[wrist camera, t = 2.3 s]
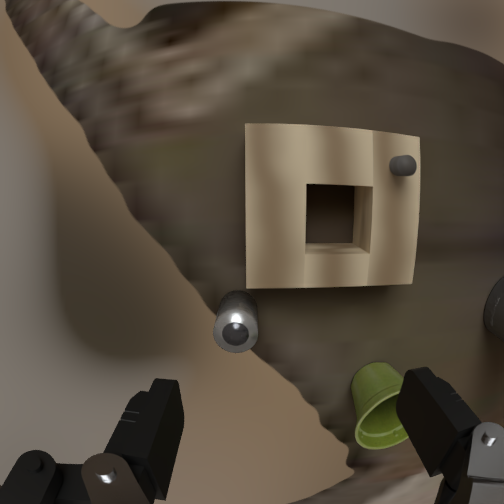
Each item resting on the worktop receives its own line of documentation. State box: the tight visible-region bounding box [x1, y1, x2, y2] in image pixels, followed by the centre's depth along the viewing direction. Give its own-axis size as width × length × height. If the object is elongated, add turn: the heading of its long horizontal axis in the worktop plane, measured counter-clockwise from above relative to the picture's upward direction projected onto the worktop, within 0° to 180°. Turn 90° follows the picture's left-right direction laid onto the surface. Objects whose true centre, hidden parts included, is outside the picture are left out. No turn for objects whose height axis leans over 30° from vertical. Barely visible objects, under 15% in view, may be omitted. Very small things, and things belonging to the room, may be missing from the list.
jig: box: [245, 124, 420, 288], centre depth 26 cm, size 16×14×7 cm
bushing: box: [213, 290, 258, 353], centre depth 29 cm, size 4×4×6 cm
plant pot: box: [351, 362, 409, 449], centre depth 30 cm, size 9×9×9 cm
